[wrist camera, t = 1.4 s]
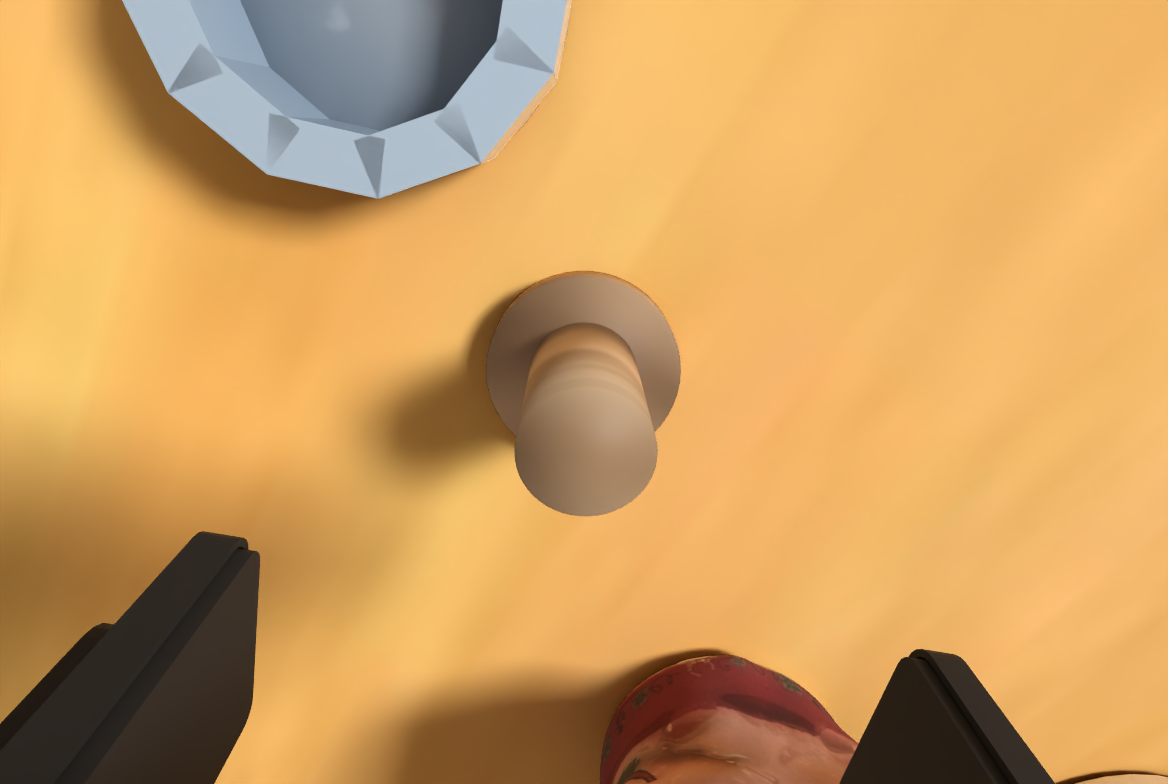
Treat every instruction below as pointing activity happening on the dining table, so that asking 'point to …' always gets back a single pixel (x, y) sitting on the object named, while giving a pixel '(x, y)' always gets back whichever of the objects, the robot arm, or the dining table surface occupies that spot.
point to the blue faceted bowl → (358, 80)
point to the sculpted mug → (723, 729)
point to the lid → (584, 388)
